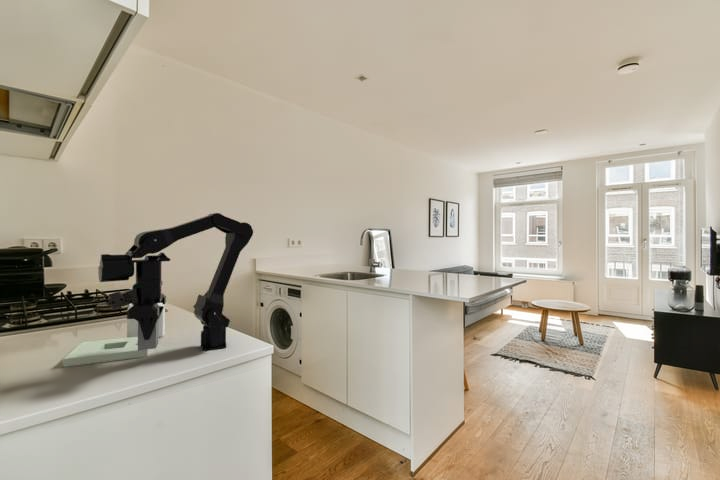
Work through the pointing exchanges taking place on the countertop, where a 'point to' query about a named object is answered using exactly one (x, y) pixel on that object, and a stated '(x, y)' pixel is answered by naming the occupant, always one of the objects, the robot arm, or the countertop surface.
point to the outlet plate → (105, 351)
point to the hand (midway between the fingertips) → (148, 337)
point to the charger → (149, 343)
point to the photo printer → (133, 324)
